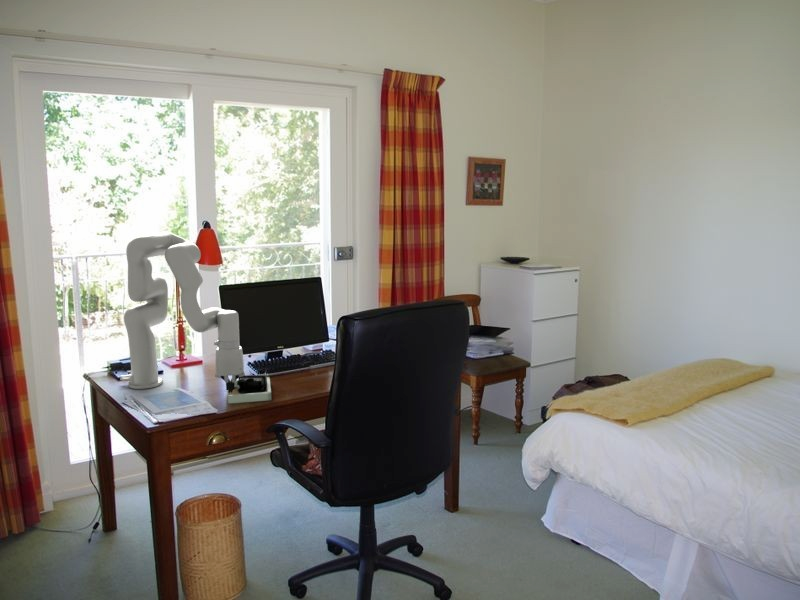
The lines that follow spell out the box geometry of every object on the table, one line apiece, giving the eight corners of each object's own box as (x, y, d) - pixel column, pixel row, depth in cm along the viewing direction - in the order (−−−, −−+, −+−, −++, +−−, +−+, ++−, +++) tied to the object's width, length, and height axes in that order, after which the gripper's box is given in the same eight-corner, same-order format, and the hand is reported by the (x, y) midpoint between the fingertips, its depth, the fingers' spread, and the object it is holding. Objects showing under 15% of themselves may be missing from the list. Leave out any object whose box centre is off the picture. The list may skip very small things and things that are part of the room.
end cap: (267, 390, 248) (266, 372, 247) (263, 396, 241) (263, 379, 240) (241, 390, 248) (240, 373, 247) (236, 396, 241) (235, 379, 240)
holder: (228, 403, 234) (227, 396, 233) (229, 386, 252) (229, 380, 251) (271, 400, 237) (271, 392, 237) (269, 383, 255) (269, 377, 254)
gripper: (206, 347, 234) (208, 396, 238) (249, 346, 237) (251, 394, 241) (208, 342, 241) (210, 389, 245) (250, 340, 244) (251, 387, 248)
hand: (230, 391), depth 243 cm, fingers closed
